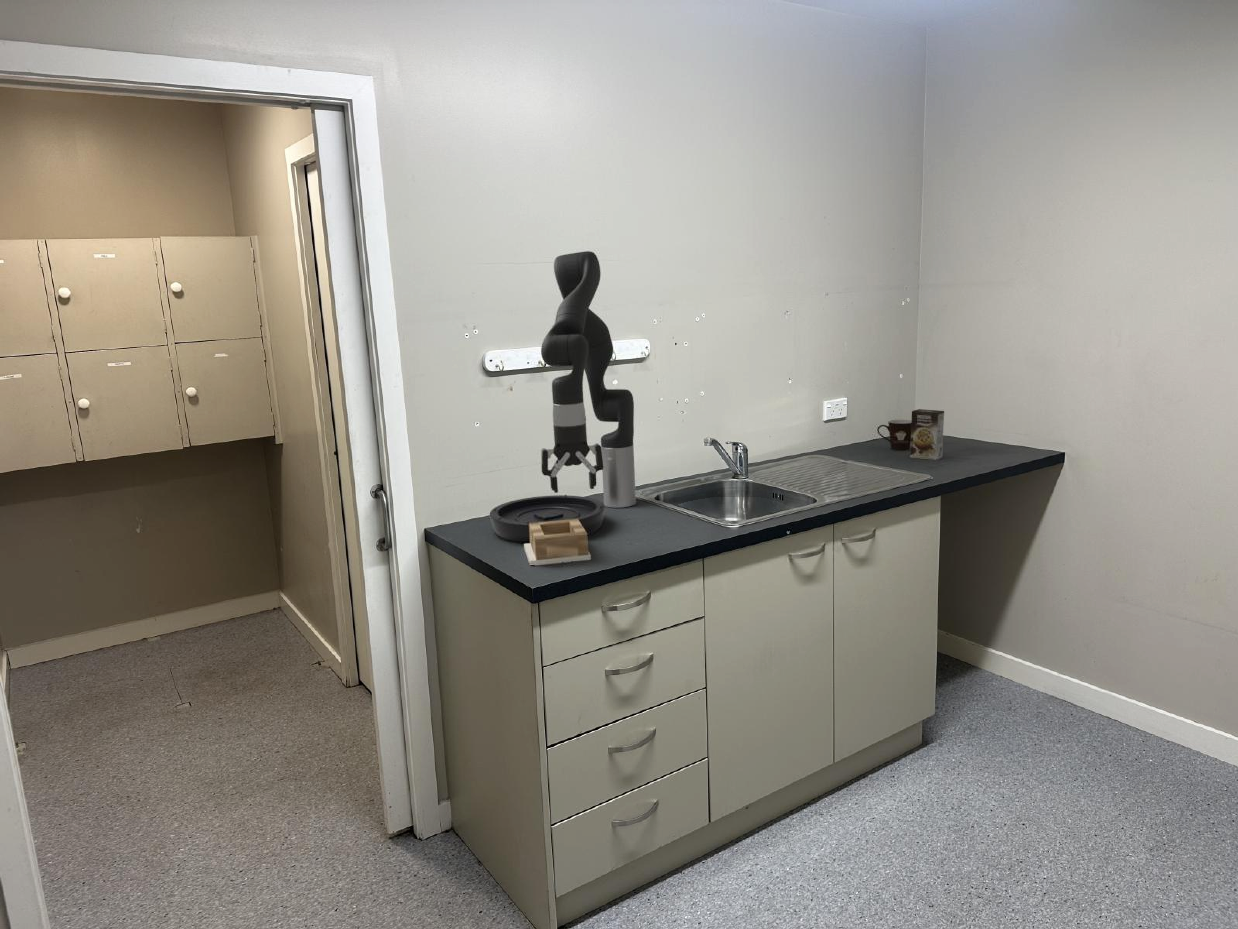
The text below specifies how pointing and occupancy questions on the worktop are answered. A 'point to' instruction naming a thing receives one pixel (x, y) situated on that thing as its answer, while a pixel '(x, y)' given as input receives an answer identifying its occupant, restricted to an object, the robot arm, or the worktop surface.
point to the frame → (558, 539)
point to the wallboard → (533, 560)
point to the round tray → (544, 514)
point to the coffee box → (927, 434)
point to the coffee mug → (899, 434)
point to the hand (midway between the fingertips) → (573, 490)
